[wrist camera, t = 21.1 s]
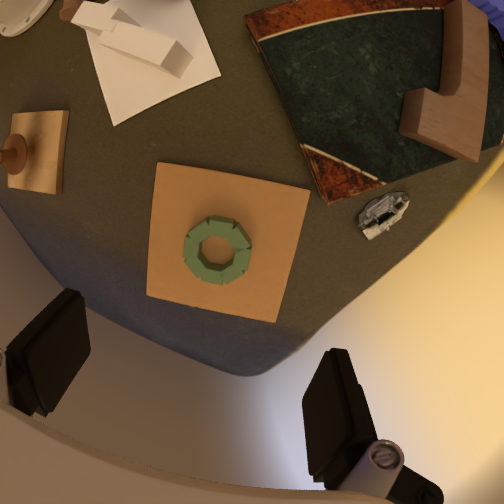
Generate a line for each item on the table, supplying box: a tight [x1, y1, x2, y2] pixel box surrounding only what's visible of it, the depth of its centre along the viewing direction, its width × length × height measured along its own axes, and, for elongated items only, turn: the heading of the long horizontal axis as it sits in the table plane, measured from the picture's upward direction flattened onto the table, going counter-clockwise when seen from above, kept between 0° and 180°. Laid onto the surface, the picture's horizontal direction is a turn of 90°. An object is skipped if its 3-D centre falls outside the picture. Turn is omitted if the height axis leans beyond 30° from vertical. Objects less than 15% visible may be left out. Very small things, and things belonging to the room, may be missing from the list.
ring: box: [183, 215, 252, 285], centre depth 27 cm, size 6×6×2 cm
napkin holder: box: [71, 0, 221, 126], centre depth 18 cm, size 15×11×6 cm
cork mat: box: [147, 162, 311, 323], centre depth 28 cm, size 14×14×1 cm
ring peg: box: [0, 110, 69, 195], centre depth 22 cm, size 9×9×7 cm
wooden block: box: [399, 0, 489, 163], centre depth 15 cm, size 7×3×15 cm
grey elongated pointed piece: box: [358, 192, 409, 240], centre depth 26 cm, size 6×2×3 cm
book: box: [243, 0, 504, 205], centre depth 19 cm, size 17×4×25 cm
